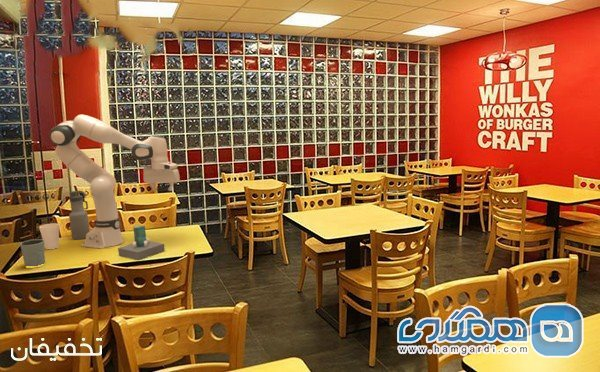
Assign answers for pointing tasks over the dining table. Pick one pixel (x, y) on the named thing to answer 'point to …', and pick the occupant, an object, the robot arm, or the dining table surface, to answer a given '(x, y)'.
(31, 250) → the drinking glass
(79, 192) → the water bottle
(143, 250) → the peg stand
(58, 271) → the dining table surface
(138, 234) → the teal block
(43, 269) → the dining table surface
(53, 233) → the foam cup
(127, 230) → the dining table surface
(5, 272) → the dining table surface
